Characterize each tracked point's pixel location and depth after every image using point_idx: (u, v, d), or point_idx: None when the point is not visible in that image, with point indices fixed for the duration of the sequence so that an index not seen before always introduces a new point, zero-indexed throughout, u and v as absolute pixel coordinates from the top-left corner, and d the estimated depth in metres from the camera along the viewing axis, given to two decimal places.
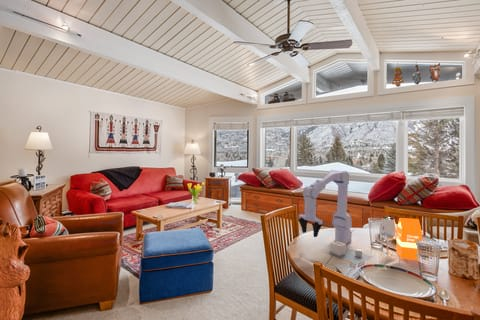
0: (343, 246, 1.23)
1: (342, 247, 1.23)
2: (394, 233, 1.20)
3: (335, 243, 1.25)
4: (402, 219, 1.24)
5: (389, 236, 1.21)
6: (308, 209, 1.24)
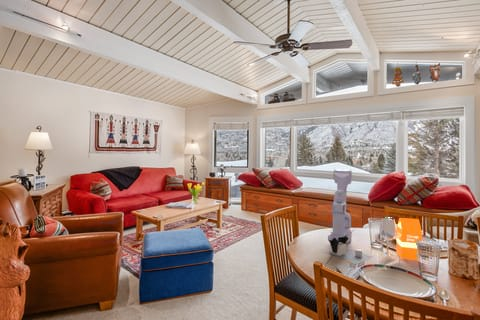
0: (343, 246, 1.23)
1: (342, 247, 1.23)
2: (394, 233, 1.20)
3: None
4: (402, 219, 1.24)
5: (389, 236, 1.21)
6: (340, 226, 1.22)
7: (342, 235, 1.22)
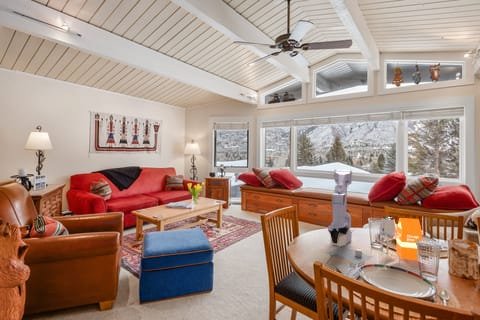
0: (343, 237, 1.23)
1: (342, 238, 1.23)
2: (394, 233, 1.20)
3: None
4: (402, 219, 1.24)
5: (389, 236, 1.21)
6: (340, 216, 1.22)
7: (342, 226, 1.22)
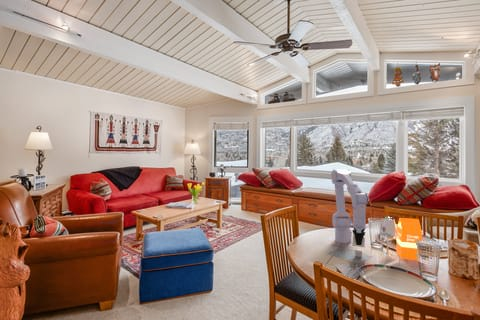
0: (364, 237, 1.21)
1: None
2: (394, 233, 1.20)
3: None
4: (402, 219, 1.24)
5: (389, 236, 1.21)
6: (364, 217, 1.18)
7: (365, 226, 1.19)
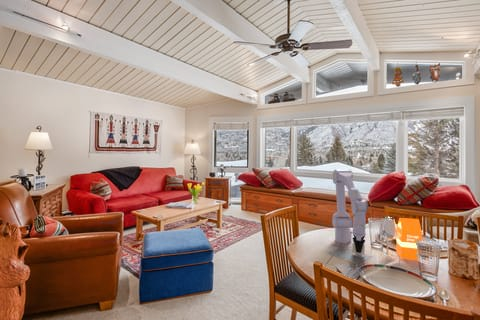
0: (364, 244, 1.21)
1: None
2: (394, 233, 1.20)
3: None
4: (402, 219, 1.24)
5: (389, 236, 1.21)
6: (363, 224, 1.18)
7: (365, 233, 1.19)
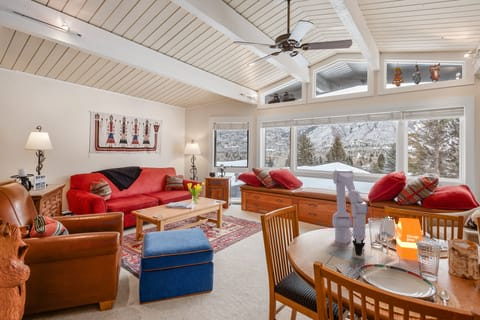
0: (364, 248, 1.21)
1: None
2: (394, 233, 1.20)
3: None
4: (402, 219, 1.24)
5: (389, 236, 1.21)
6: (363, 227, 1.18)
7: (365, 236, 1.19)
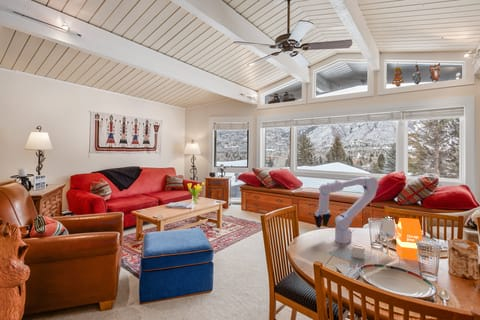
0: (364, 248, 1.21)
1: None
2: (394, 233, 1.20)
3: (357, 246, 1.20)
4: (402, 219, 1.24)
5: (389, 236, 1.21)
6: (319, 203, 1.43)
7: (326, 212, 1.41)
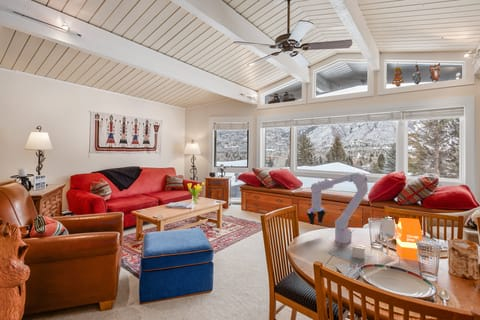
0: (364, 248, 1.21)
1: None
2: (394, 233, 1.20)
3: (357, 246, 1.20)
4: (402, 219, 1.24)
5: (389, 236, 1.21)
6: None
7: (319, 209, 1.48)
